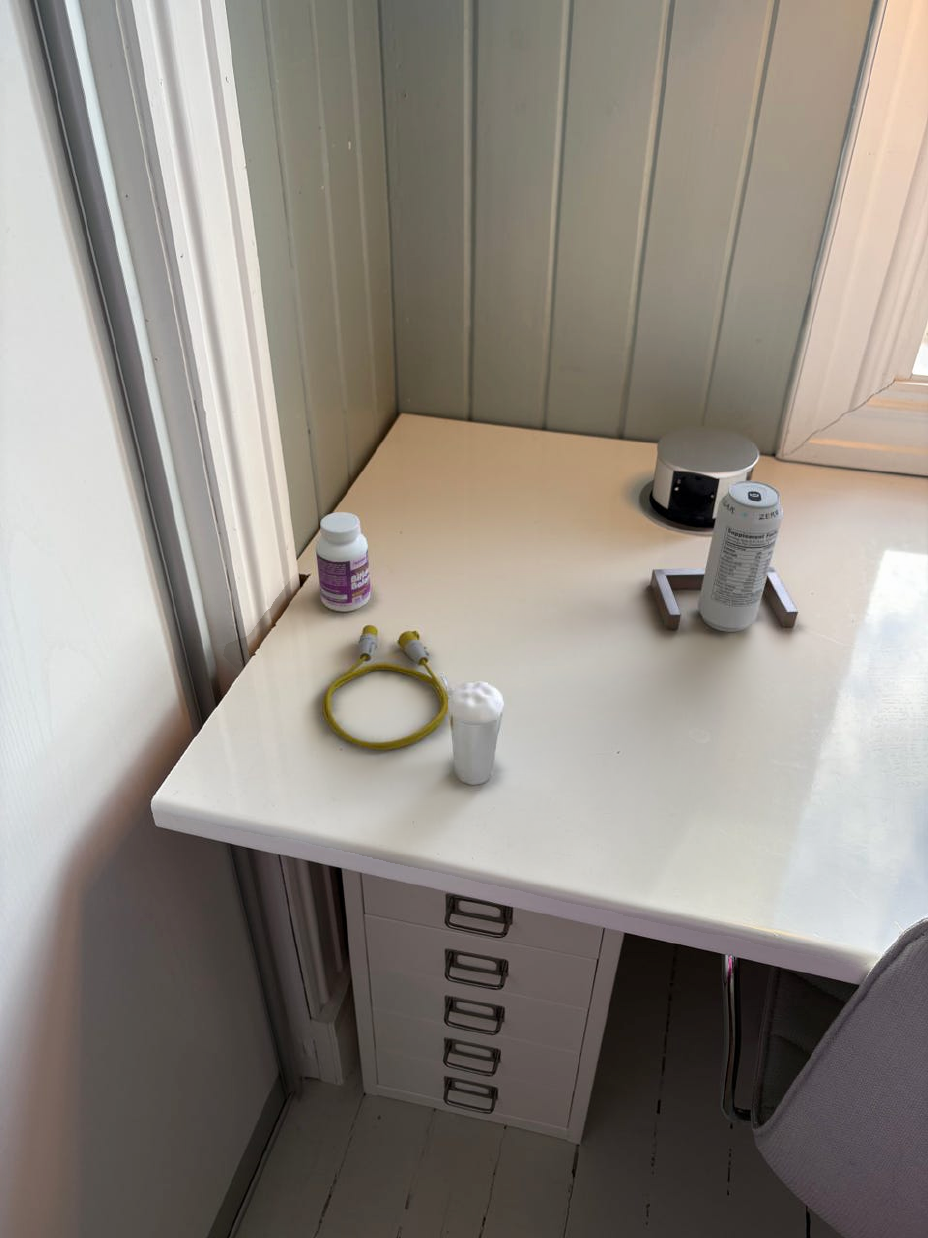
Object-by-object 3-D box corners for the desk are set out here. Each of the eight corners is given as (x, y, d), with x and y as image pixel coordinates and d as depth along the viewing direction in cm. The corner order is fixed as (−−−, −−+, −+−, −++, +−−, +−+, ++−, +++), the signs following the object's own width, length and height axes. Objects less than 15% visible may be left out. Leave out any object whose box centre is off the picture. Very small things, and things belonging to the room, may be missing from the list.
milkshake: (453, 743, 83) (454, 657, 77) (508, 762, 81) (513, 676, 75) (430, 777, 79) (428, 690, 73) (486, 798, 78) (490, 711, 71)
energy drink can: (752, 603, 100) (783, 480, 90) (756, 638, 95) (790, 512, 86) (695, 597, 100) (720, 474, 91) (697, 631, 96) (723, 505, 86)
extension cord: (480, 659, 92) (481, 644, 91) (415, 769, 80) (415, 752, 79) (370, 630, 95) (369, 615, 94) (292, 730, 84) (290, 714, 82)
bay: (650, 584, 102) (652, 569, 101) (769, 581, 103) (773, 566, 102) (666, 630, 96) (669, 615, 95) (794, 627, 96) (798, 611, 95)
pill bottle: (363, 616, 97) (358, 538, 91) (314, 610, 98) (306, 533, 92) (376, 586, 101) (372, 510, 95) (329, 581, 102) (322, 505, 96)
